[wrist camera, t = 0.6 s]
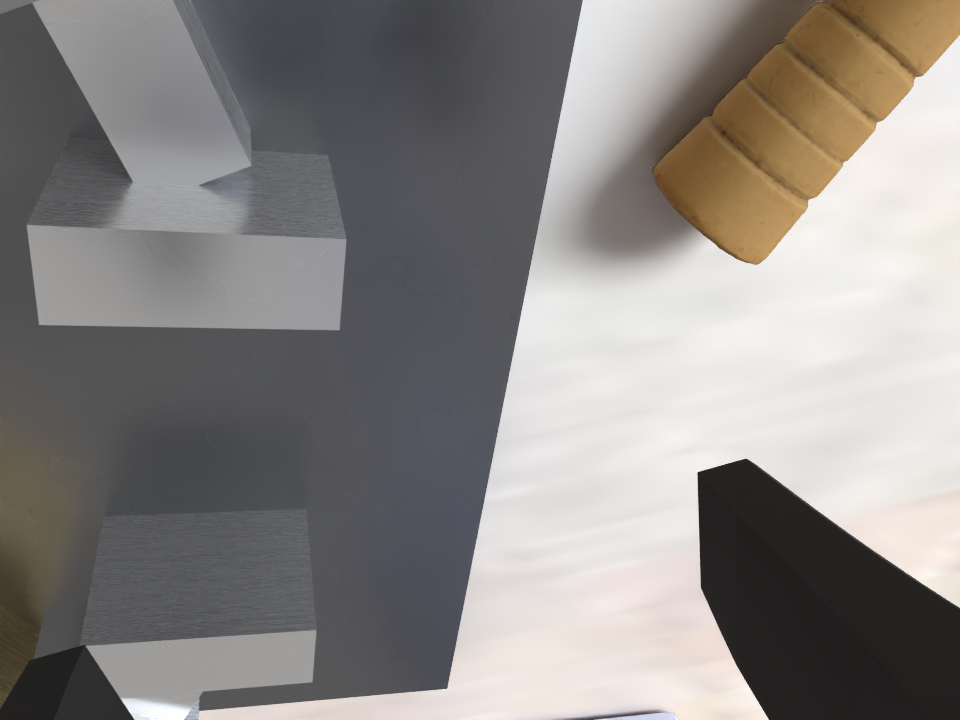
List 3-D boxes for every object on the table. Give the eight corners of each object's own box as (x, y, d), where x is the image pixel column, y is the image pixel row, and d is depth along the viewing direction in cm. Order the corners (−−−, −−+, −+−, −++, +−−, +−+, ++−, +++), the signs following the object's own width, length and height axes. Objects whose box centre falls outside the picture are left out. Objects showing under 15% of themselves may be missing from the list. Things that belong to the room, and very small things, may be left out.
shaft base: (441, 666, 26) (473, 807, 23) (-237, 721, 22) (-332, 908, 18) (594, -145, 15) (701, -120, 12) (-697, -363, 11) (-1151, -426, 7)
